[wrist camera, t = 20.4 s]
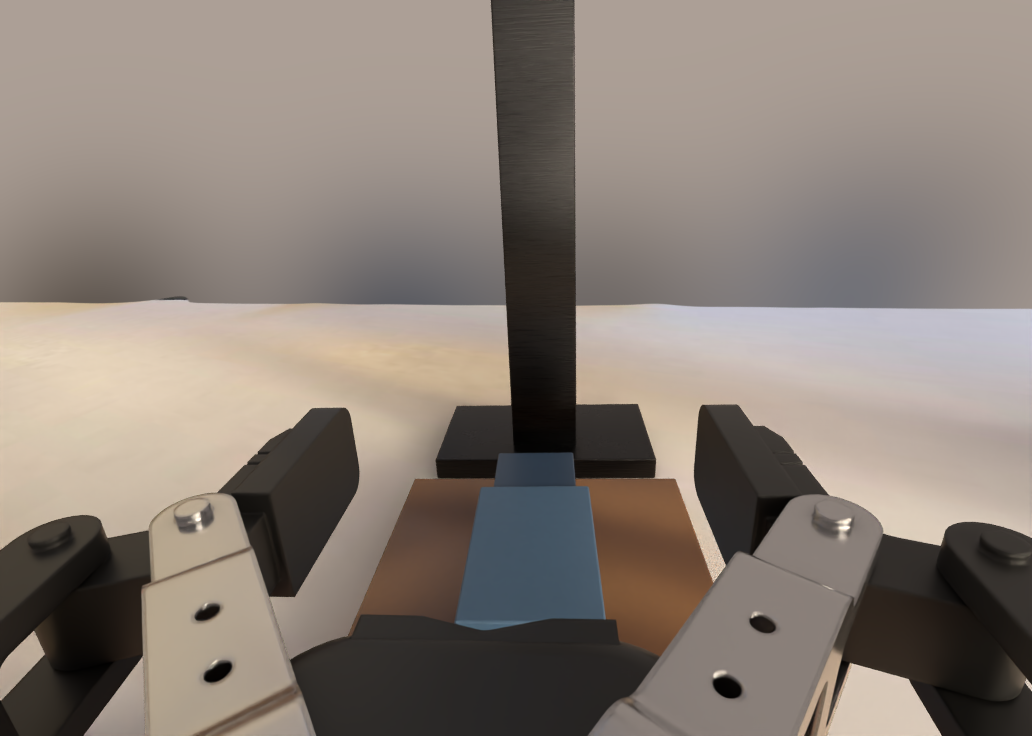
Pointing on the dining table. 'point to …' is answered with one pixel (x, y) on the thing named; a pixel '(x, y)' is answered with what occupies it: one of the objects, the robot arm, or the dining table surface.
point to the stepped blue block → (531, 547)
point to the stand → (541, 268)
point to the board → (620, 547)
